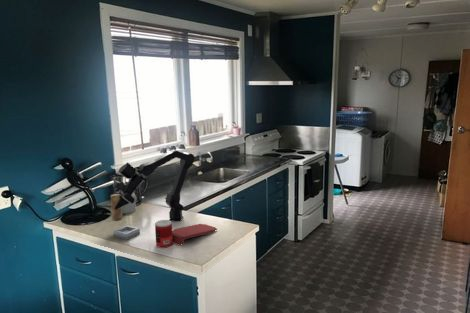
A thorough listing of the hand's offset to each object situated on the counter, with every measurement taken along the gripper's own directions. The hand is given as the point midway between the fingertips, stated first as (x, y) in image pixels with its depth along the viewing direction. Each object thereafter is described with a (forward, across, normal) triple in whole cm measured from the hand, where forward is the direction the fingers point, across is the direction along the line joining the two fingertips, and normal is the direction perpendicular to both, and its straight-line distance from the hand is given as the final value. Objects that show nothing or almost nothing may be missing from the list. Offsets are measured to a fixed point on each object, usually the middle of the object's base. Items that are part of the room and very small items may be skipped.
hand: (113, 207), depth 190 cm
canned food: (-2, +29, +21) cm, 36 cm away
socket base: (+7, +8, +12) cm, 16 cm away
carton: (-13, +26, +33) cm, 44 cm away
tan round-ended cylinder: (+4, 0, +6) cm, 7 cm away
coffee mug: (-2, -31, +21) cm, 38 cm away
